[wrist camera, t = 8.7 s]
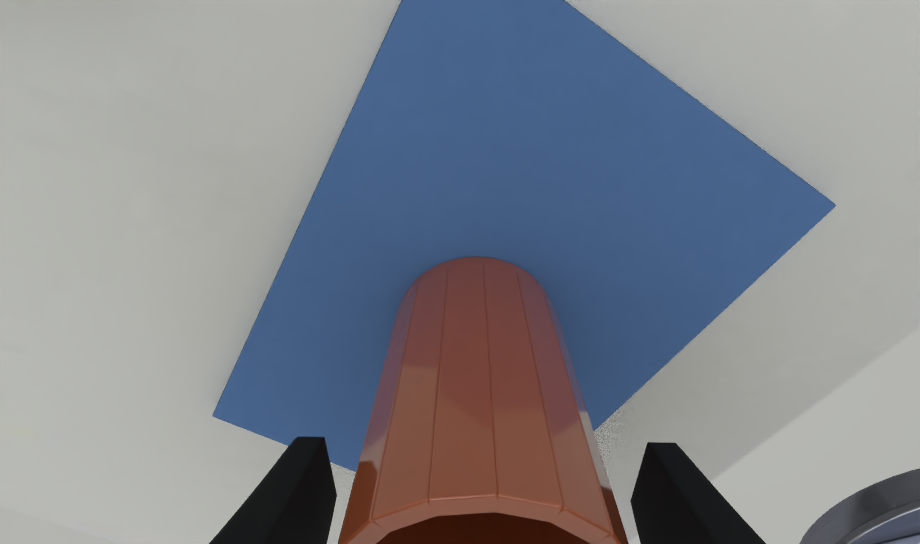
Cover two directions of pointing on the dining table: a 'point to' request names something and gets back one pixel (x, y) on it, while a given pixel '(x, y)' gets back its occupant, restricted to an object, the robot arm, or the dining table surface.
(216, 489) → the dining table surface
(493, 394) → the cup
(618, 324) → the towel
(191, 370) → the dining table surface
